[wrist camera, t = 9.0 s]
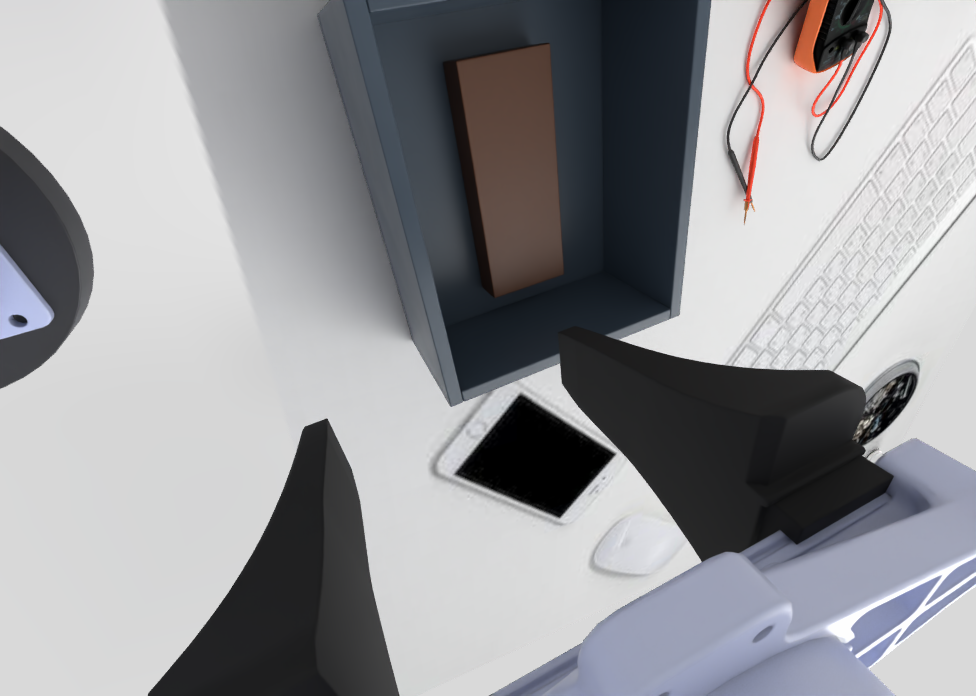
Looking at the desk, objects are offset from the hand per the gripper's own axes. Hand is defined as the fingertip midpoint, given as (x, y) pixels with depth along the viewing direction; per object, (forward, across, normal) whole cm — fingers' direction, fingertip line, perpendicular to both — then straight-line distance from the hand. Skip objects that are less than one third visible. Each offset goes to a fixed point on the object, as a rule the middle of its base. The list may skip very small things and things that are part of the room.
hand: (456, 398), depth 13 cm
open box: (+10, -6, -3) cm, 13 cm away
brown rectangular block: (+10, -6, -3) cm, 12 cm away
